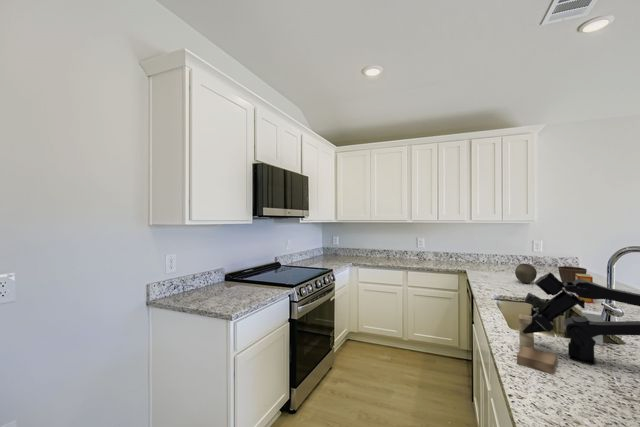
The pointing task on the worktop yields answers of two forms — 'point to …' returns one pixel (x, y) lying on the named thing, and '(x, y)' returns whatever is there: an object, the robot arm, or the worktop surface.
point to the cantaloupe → (525, 273)
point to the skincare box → (595, 318)
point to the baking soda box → (588, 278)
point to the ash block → (528, 338)
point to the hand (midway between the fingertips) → (523, 328)
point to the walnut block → (537, 359)
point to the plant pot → (570, 273)
